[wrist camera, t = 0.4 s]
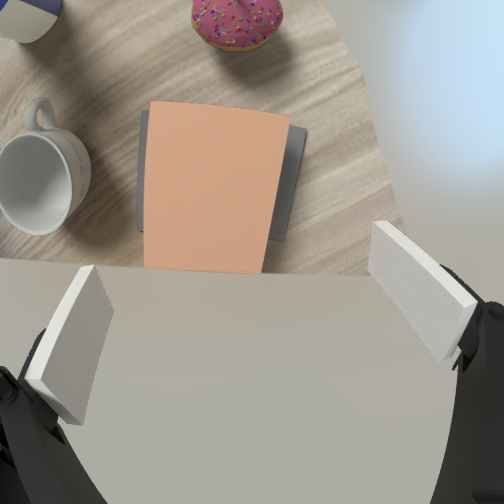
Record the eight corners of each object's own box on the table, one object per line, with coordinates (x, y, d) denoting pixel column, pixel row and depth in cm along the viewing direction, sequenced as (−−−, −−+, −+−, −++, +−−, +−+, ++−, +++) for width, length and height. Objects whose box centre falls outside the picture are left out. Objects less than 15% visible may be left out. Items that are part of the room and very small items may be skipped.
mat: (138, 228, 33) (137, 230, 33) (143, 110, 27) (142, 110, 26) (282, 238, 37) (283, 240, 36) (304, 128, 30) (306, 129, 30)
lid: (148, 255, 30) (144, 267, 28) (155, 101, 23) (150, 101, 20) (256, 261, 32) (260, 274, 30) (283, 115, 25) (290, 116, 23)
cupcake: (176, 16, 22) (164, -28, 12) (243, -19, 21) (265, -70, 10) (221, 71, 26) (231, 51, 16) (286, 35, 25) (330, 5, 14)
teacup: (92, 217, 31) (68, 248, 24) (24, 200, 28) (-9, 226, 21) (115, 103, 26) (88, 104, 19) (38, 93, 22) (0, 96, 15)
